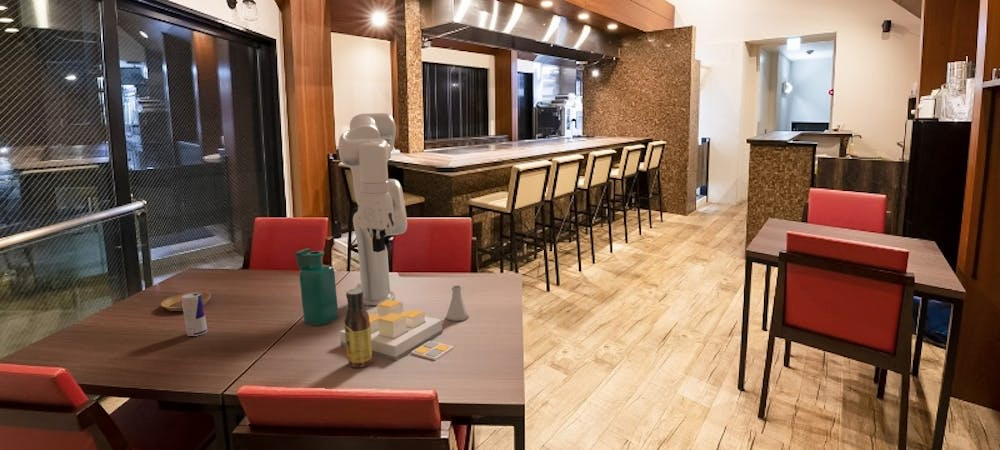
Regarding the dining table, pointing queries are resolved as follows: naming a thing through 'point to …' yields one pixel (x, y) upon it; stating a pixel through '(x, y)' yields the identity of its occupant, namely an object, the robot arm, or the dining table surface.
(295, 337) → the dining table surface
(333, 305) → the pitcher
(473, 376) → the dining table surface
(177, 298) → the plant saucer
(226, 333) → the dining table surface
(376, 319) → the button
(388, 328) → the button
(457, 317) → the flask
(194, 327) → the energy drink
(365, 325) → the sauce bottle
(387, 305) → the button
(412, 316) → the button
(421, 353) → the card
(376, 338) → the button board
